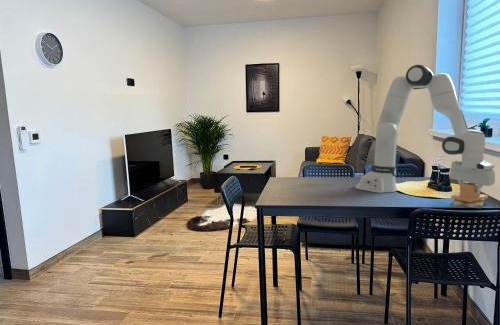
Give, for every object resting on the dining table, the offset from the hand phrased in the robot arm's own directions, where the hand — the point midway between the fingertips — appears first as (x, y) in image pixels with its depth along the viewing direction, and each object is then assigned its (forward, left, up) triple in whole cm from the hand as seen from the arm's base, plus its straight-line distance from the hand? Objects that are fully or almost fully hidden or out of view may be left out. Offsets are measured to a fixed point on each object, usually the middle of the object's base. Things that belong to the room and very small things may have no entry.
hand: (469, 191), depth 169 cm
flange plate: (0, 0, -4) cm, 4 cm away
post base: (0, +2, -6) cm, 6 cm away
